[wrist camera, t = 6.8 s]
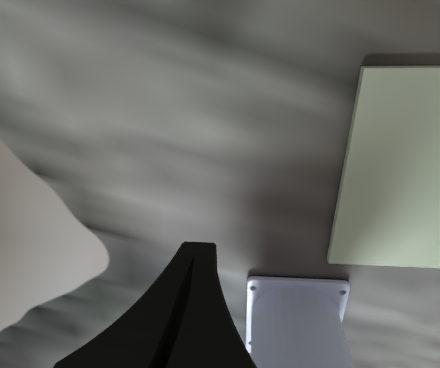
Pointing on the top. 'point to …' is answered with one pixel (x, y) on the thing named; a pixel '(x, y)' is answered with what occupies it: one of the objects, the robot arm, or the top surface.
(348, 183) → the base board
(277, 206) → the top surface
